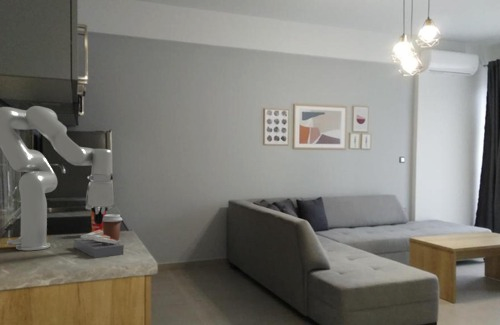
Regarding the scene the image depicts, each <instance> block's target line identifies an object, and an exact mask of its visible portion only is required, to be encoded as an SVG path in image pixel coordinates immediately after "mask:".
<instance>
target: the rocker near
mask: <svg viewBox="0 0 500 325" xmlns="http://www.w3.org/2000/svg"><path fill="white" fill-rule="evenodd" d="M93 240H95V241H100V242H107V243H114V244H116V243H118V242H117V241H116V240H114V239H109V238H102V237H95V236H93Z"/></svg>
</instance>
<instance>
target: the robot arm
mask: <svg viewBox="0 0 500 325" xmlns="http://www.w3.org/2000/svg"><path fill="white" fill-rule="evenodd" d="M14 129H15V130H14ZM16 130H24V131H25V130H36V131H37V132H39V133H40V134H41V135H42V136H43V137H44V138H46V139H47V140H48V141H49V142H50V144H51V146H52V147H53V149H54V150H55V152H57V154H58V155H60V157H62V158H63V159H64V160H66V161H67V162H68V163H69V164H71V165H73V166H79V167H80V166H82V167H84V166H91V174H90V175H88V176H87V179H88V180H90V181H89V183H88V185H87V190H86V195H85V197H86V198H85V206H84V208H85V210H88V211H90V212H91V211H92V212H93V213H94V222H95V223H96V224H101V223H102V221H103V214H104V212H105V211H106V212H107V211H109V210H111V209H113V206H114V199H115V198H114V197H115V196H114V185H113V182H112V181H111V178H112V177H111V175H112V160H113V157H112V156H113V153H112V150H111V149H107V148H91V147H83V146H79V145H78V144H77V143H76V142H74V141H73V140H72V139H71V138H70V137H69V136H68V134H67V131H68V129H67V126H66V125H64V124H63V123H62V122H61V121H59V120H58V115H57V113H56V112H55V111H54V110H52V109H51V108H48V107H46V106H45V107H44V106H39V105H34V106H33V105H32V106H31V107H29V108H28V109H26V110H25V109H20V108H16V107H11V106H2V107H1V106H0V149H1V151H2V153H3V155H4V156H5V158H6V160H7V162H8V163H9V165H10V166H11V168H12V169H13V170H14V171H16V172H19V173H24V172H25V173H24V174H23V175H22V176H21V177H20V178H19V182H18V188H19V194H20V236H19V237H18V238H16V239H9V240H7V241H6V245H7V246H15V248H16V250H18V251H24V252H25V251H39V250H40V251H41V250H45V249H48V248H50V247H51V243H50V242H47V236H48V234H47V231H48V228H47V225H48V223H47V222H48V220H47V219H48V202H47V198H46V194H47V193H51V192H53V191H54V190H56V188H57V186H58V178H57V177H58V176H57V175H56V172H54V170H53V168H52V166H51V165H50V164H49V161H48V159H47V158H46V157H45V155H44V154H43V153H42V152H40V151H39V150H36V149H29V148H28V147H27V145H26V144H25V142H24V140H23V139H22V138H21V136H20V135H19V134H18V133H17V132H16ZM98 207H100V210H99V212H98Z"/></svg>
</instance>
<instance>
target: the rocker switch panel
mask: <svg viewBox="0 0 500 325" xmlns="http://www.w3.org/2000/svg"><path fill="white" fill-rule="evenodd" d="M73 244H74V245H73V247H74V249H76V250H79V251H80V252H82V253H85V254H86V255H88V256H90V257H92V258H94V259H99V258H104V257H113V256H121V255H124V248H125V247H124V244H122V243H119V242H117V243H116V244H114V243H107V242H100V241H95V240H89V239H88V240H82V239H81V238H74V243H73Z"/></svg>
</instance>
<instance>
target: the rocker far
mask: <svg viewBox="0 0 500 325" xmlns="http://www.w3.org/2000/svg"><path fill="white" fill-rule="evenodd" d="M102 234H104V233H103V231H101V230H97V231H94V232H92V231H91V232H89V233H86V234H85V233H84V234H83V235H80V239H82V240H88V239H87V238H86V236H87V235H102Z"/></svg>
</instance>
